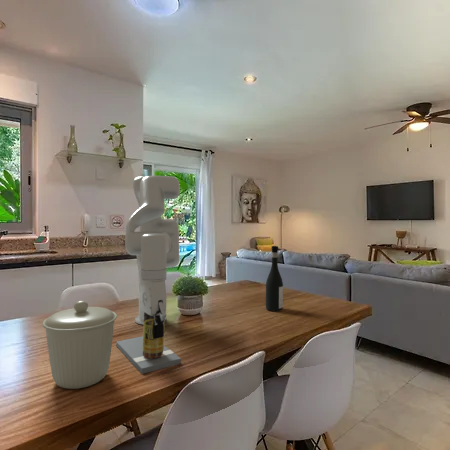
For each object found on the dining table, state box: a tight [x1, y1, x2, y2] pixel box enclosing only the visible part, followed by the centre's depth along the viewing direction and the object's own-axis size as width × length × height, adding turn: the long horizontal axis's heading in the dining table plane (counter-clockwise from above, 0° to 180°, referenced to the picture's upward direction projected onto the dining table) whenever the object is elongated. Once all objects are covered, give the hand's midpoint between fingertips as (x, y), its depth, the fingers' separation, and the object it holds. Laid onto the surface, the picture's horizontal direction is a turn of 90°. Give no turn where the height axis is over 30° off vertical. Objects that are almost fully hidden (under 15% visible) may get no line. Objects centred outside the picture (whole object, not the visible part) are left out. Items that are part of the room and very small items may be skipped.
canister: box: [41, 300, 118, 390], centre depth 89 cm, size 18×18×21 cm
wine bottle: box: [265, 245, 284, 312], centre depth 157 cm, size 8×8×30 cm
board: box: [115, 335, 182, 375], centre depth 106 cm, size 24×12×2 cm, turn 34°
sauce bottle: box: [142, 312, 166, 358], centre depth 101 cm, size 6×6×20 cm
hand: (153, 333), depth 101 cm, fingers closed on sauce bottle, 6 cm apart
